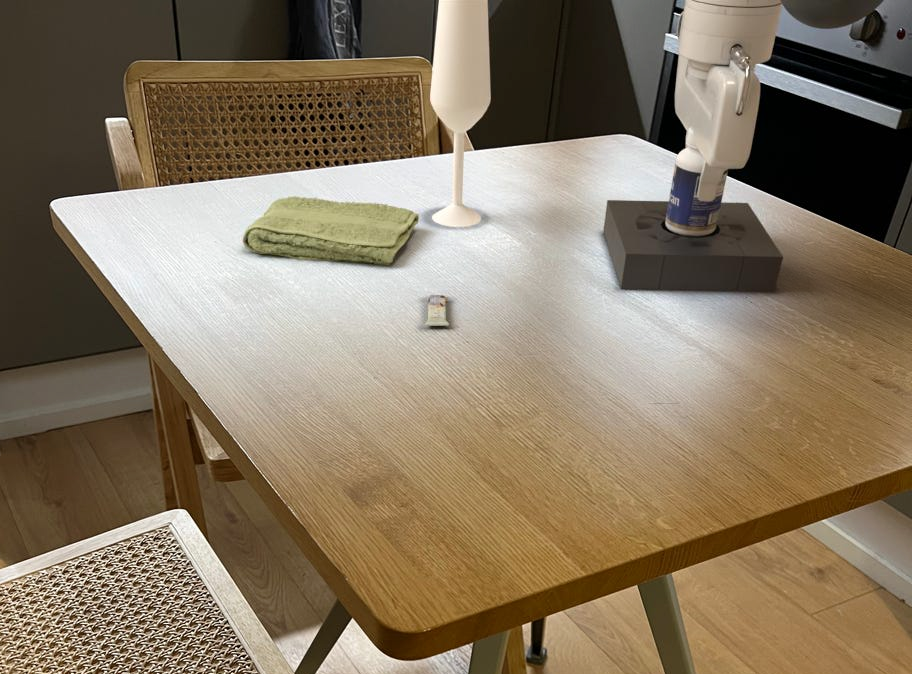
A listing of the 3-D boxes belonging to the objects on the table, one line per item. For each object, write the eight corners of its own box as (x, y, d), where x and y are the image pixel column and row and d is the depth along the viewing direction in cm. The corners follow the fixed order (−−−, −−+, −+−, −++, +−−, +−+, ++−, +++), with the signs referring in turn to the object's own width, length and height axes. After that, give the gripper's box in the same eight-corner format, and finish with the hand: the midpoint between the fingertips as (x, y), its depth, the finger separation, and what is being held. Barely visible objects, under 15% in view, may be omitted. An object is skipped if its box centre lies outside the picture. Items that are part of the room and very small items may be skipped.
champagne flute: (477, 233, 112) (488, -13, 96) (422, 227, 114) (423, -17, 97) (490, 213, 117) (502, -24, 101) (436, 208, 118) (440, -28, 102)
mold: (739, 238, 112) (747, 202, 110) (773, 295, 101) (783, 256, 98) (602, 235, 112) (607, 199, 110) (620, 292, 101) (626, 253, 98)
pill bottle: (657, 220, 106) (673, 122, 99) (703, 218, 106) (723, 120, 100) (675, 239, 102) (693, 138, 95) (723, 236, 102) (744, 136, 96)
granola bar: (449, 331, 93) (449, 320, 92) (424, 330, 93) (425, 320, 92) (448, 301, 98) (448, 291, 97) (425, 301, 98) (425, 291, 97)
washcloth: (396, 272, 104) (396, 241, 101) (239, 257, 106) (236, 227, 104) (421, 229, 113) (421, 200, 111) (276, 216, 115) (274, 188, 113)
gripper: (788, 61, 84) (750, 224, 94) (737, 14, 99) (709, 158, 109) (716, 59, 84) (685, 222, 94) (676, 13, 99) (653, 157, 109)
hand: (698, 187), depth 101 cm, fingers closed on pill bottle, 5 cm apart
